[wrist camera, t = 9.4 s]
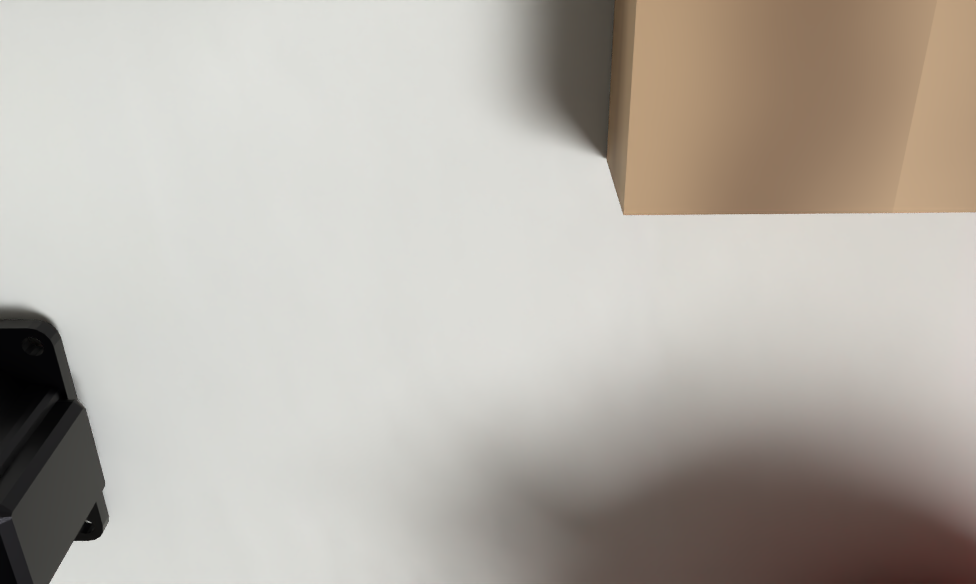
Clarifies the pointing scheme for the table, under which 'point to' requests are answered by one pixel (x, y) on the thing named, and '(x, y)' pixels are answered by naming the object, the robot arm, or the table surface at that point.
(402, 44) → the table surface
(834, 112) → the board
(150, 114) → the table surface
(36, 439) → the robot arm
